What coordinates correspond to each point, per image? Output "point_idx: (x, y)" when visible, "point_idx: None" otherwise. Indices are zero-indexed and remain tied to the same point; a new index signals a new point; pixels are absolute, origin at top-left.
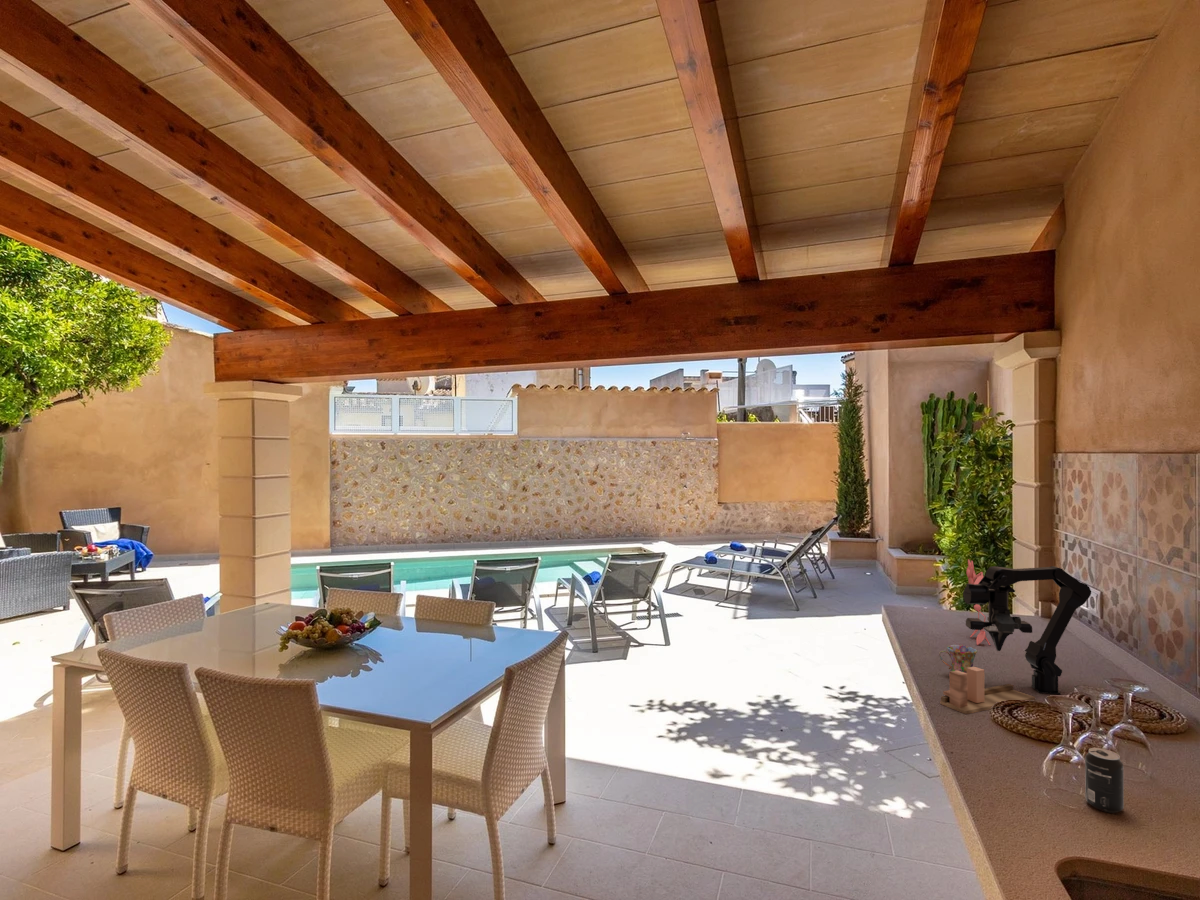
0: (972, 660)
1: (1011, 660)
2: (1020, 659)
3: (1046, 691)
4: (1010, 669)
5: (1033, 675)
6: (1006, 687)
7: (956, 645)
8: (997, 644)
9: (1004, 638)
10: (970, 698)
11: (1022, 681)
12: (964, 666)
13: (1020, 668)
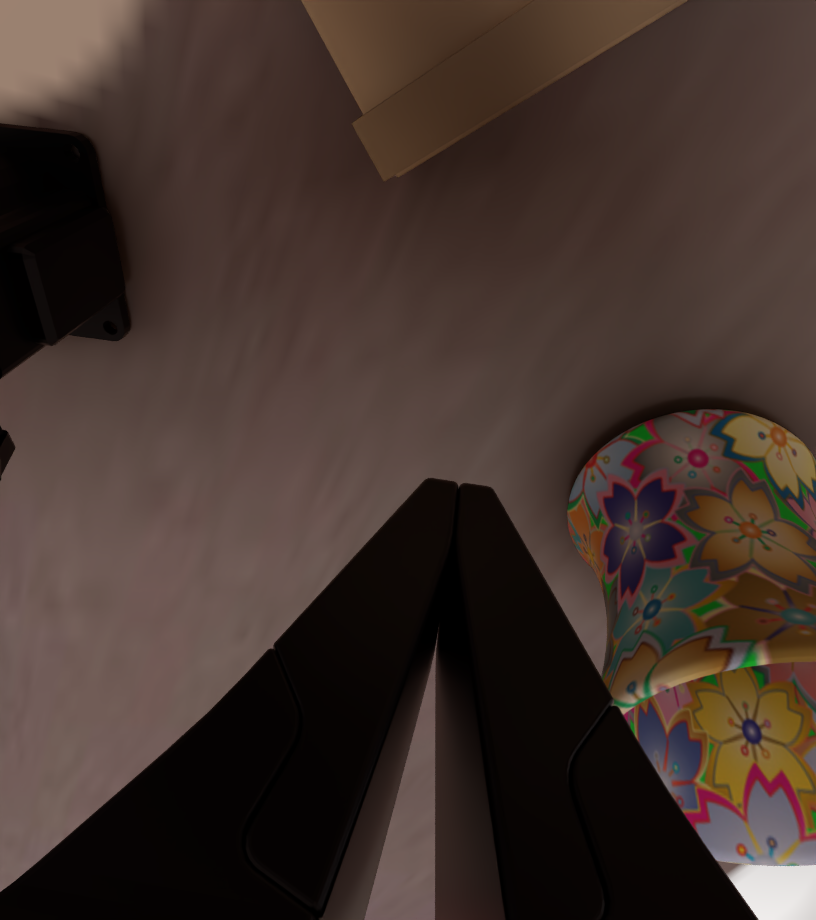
0: (679, 586)
1: (147, 760)
2: (97, 767)
3: (10, 149)
4: (192, 658)
5: (40, 310)
6: (477, 40)
7: (737, 856)
8: (518, 603)
9: (189, 802)
10: None
11: (174, 458)
12: (778, 525)
13: (126, 670)
